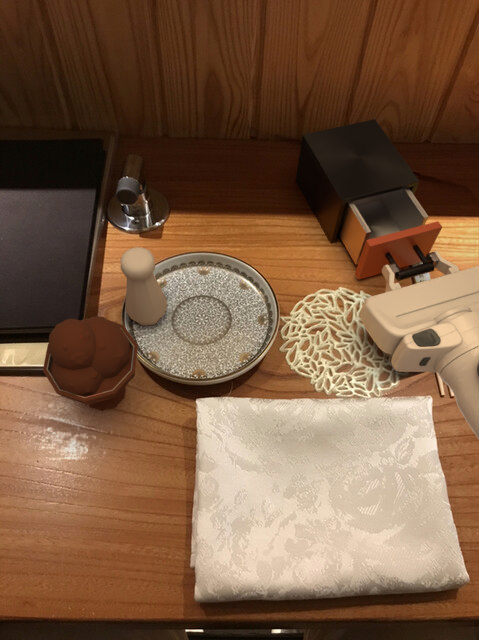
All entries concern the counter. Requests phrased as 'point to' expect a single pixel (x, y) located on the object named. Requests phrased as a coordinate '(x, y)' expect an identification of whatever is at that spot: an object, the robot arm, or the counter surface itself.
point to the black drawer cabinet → (348, 170)
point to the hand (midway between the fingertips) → (408, 260)
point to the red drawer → (388, 234)
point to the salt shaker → (142, 287)
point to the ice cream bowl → (91, 361)
